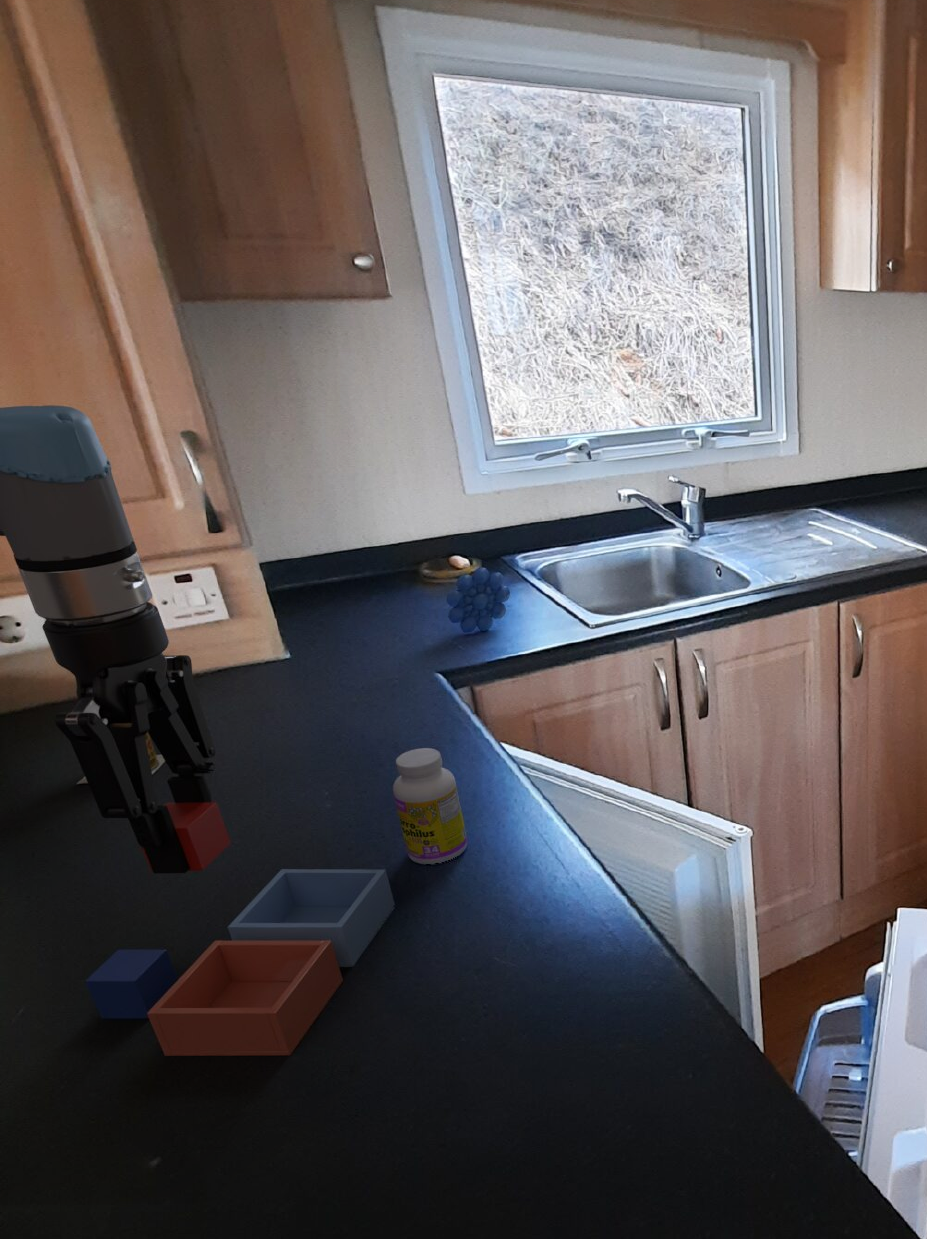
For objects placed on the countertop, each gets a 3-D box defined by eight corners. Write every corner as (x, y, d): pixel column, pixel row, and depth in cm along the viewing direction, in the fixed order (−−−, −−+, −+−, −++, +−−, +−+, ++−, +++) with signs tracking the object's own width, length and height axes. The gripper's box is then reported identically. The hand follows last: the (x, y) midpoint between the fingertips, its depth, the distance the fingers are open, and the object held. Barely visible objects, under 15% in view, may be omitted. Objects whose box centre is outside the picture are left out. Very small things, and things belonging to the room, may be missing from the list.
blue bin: (241, 967, 97) (227, 927, 95) (293, 906, 106) (281, 868, 104) (352, 967, 97) (341, 927, 95) (395, 907, 106) (385, 869, 104)
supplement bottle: (395, 859, 114) (371, 764, 108) (438, 832, 120) (417, 739, 114) (440, 872, 112) (417, 775, 106) (481, 843, 118) (462, 750, 112)
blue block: (101, 1018, 90) (84, 981, 88) (133, 986, 94) (118, 949, 92) (150, 1018, 90) (134, 981, 88) (181, 985, 94) (166, 949, 92)
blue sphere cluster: (507, 618, 189) (497, 558, 183) (519, 628, 184) (509, 566, 179) (445, 630, 182) (433, 568, 177) (456, 640, 178) (444, 577, 172)
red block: (151, 871, 86) (133, 828, 84) (182, 844, 90) (166, 802, 88) (202, 870, 86) (186, 828, 84) (231, 843, 90) (216, 801, 88)
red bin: (164, 1056, 86) (146, 1013, 84) (229, 980, 95) (214, 940, 93) (290, 1055, 87) (275, 1013, 84) (343, 980, 95) (331, 940, 93)
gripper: (68, 650, 70) (172, 912, 80) (211, 577, 86) (282, 805, 96) (-39, 650, 70) (79, 913, 80) (123, 577, 85) (204, 805, 96)
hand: (189, 854), depth 88 cm, fingers closed on red block, 4 cm apart
